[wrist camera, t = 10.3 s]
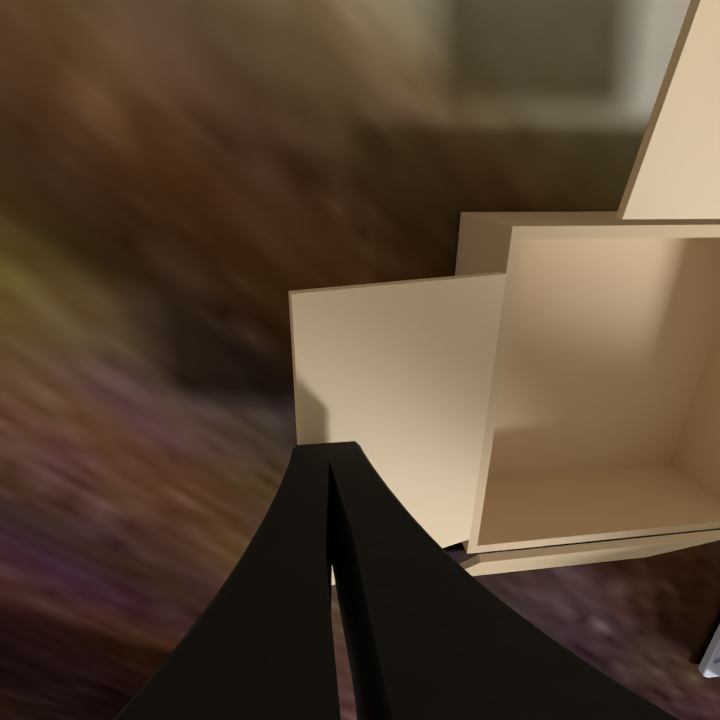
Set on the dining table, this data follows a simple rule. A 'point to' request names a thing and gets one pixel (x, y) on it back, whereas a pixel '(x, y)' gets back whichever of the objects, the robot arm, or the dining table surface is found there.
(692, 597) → the dining table surface
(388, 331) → the flap
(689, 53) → the flap
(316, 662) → the robot arm
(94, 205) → the dining table surface
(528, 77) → the dining table surface
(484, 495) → the carton
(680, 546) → the flap
